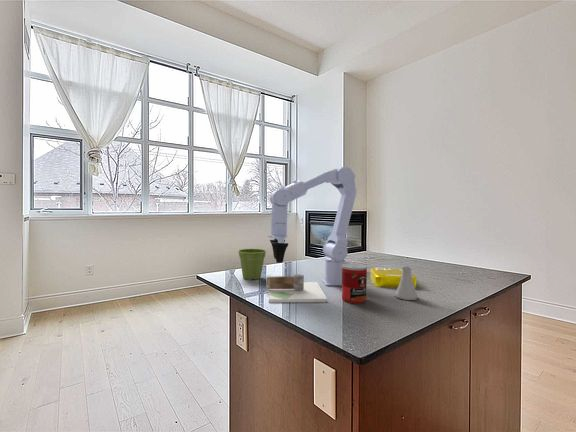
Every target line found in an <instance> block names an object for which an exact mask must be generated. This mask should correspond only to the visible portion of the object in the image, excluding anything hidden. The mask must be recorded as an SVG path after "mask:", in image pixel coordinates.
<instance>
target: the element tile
mask: <svg viewBox="0 0 576 432" xmlns="http://www.w3.org/2000/svg"><path fill="white" fill-rule="evenodd" d="M402 272H403V269H402V268H385V267H371V268H370V274H369V276H370V277H369V279H370V278H371V279H370V281H371V282H372V284H373V285H374V286H375V287H377V288H378V287H379V288H396V289H397V288H398V286H399V283H400V281H401V278H402ZM411 276H412V281H413V284H414V287H416V288H417V279H418V278H417V276H415V275H414V274H413V273H412V272H411Z"/></svg>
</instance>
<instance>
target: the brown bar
mask: <svg viewBox="0 0 576 432" xmlns="http://www.w3.org/2000/svg"><path fill="white" fill-rule="evenodd" d="M304 277H305V276H304V275H303V274H298V273H297V274H293V275H292V276H290V275H289V276H284V275H283V276H280V275H279V276H276V275H275V276H270V275H269V276H268V275H267V276H266V283H265V284H266V286H265V287H266V289H265V290H269V289H295V290H302V289H304V282H305V278H304Z"/></svg>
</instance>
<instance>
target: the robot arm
mask: <svg viewBox="0 0 576 432" xmlns="http://www.w3.org/2000/svg"><path fill="white" fill-rule="evenodd" d="M355 178H356V175H355V173H354V171H353V170H352V169H351V168H350V167H348V166H342V167H339V168H334V169H331V170H328V171H323V172H322V173H318V174H317V175H316V176H313V177H311V178H309V179H307V180H305V181H302V180H301V179H300V180H297V179H295V180H293V181H292V183H291V184H288V185H286V186H284V185H283V186H281V187H280V188H281V189H280V188H279V189H277V190H274V191H272V193H271V195H270V196H269V201H270V203H271V214H270V215H271V219H270V220H271V221H270V225H271V226H270V234H267V238H271V239H269V241H270V244H271V247H272V248H271V249H272V252H273V254H272V255H273V258H274V260H275V262H276V264H282V263H283V262H284V257H285V255H286V254H285V253H286V250H287V248H288V246H289V243H288V242H285V241H286V239H287V238H288V234H287V233H288V204H289V203H290V202H293V201H295V200H297V199H299V198H301V197H304V196H305V195H306V194H307V193H308V190H310V189H312V188H316V187H318V186H320V185H322V184H325V183H327V184H328V183H330V184H331V185H332V186H334V187H335V188H336V189H337V190H338V191H339V193H340V199H339V203H338V206H337V210H336V214H335V215H336V216H335V219H334V222H333V223H334V224H333V227H332V230H331V234H330V235H329V236H328V237H327V240H326V242H325V243H324V244H323V246H322V252H323V254H324V256H325V258H324V259H325V260H324V261H325V264H324V266H325V267H324V268H325V269H324V271H325V273H324V278H323V279H322V281H323V283H324V284H325V286H331V287H332V286H335V287H336V286H342V265H343V264H347V263H351V262H350V260H348V259H347V260H346V258H347V256H348V244H349V243H348V242H349V241H348V240H347V238H346V237H347V233H348V230H349V229H348V228H349V223H350V219H351V216H352V212H353V210H354V209H353V208H354V204H355V199H356V196H357V188H356V182H355Z"/></svg>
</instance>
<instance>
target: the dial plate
mask: <svg viewBox="0 0 576 432" xmlns="http://www.w3.org/2000/svg"><path fill="white" fill-rule="evenodd" d="M268 303H270V304H271V303H277V304H278V303H328V298H327V296H326V295H325V293H324V290H322V288H321V286H320V284H319V283H318V281H304V289H302V290H295V289H268Z"/></svg>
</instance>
